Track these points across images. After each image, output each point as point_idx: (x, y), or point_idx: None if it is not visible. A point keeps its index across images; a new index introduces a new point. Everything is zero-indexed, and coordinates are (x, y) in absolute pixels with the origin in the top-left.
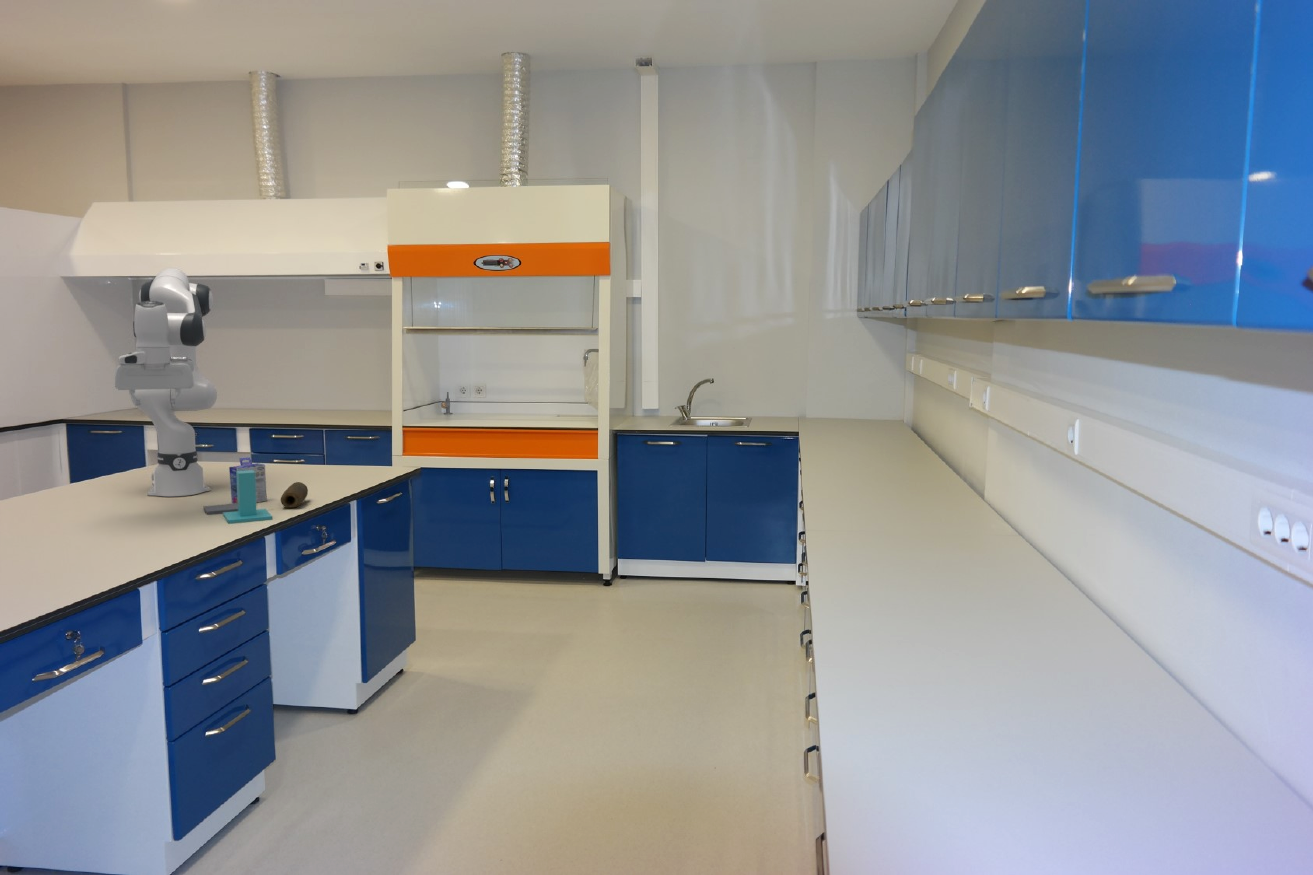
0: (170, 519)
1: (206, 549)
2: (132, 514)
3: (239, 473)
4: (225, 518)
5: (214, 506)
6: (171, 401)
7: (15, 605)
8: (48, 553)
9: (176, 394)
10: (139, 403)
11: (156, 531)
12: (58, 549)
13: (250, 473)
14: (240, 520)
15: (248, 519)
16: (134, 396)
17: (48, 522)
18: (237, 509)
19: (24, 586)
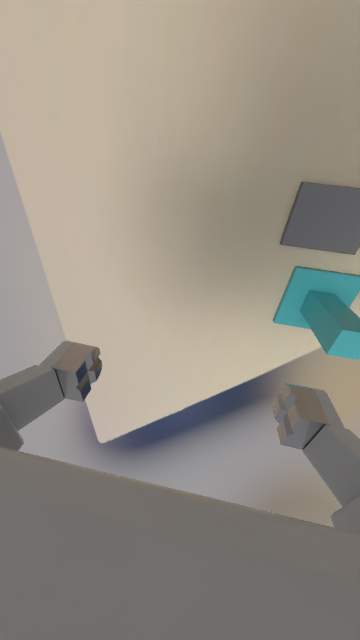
0: (221, 245)
1: (208, 395)
2: (178, 153)
3: (328, 353)
4: (284, 294)
5: (317, 200)
6: (288, 401)
7: (94, 425)
8: (90, 337)
9: (337, 483)
10: (92, 378)
11: (187, 309)
12: (96, 328)
13: (349, 356)
14: (289, 324)
15: (299, 326)
16: (36, 416)
17: (52, 148)
18: (332, 251)
19: (92, 402)
